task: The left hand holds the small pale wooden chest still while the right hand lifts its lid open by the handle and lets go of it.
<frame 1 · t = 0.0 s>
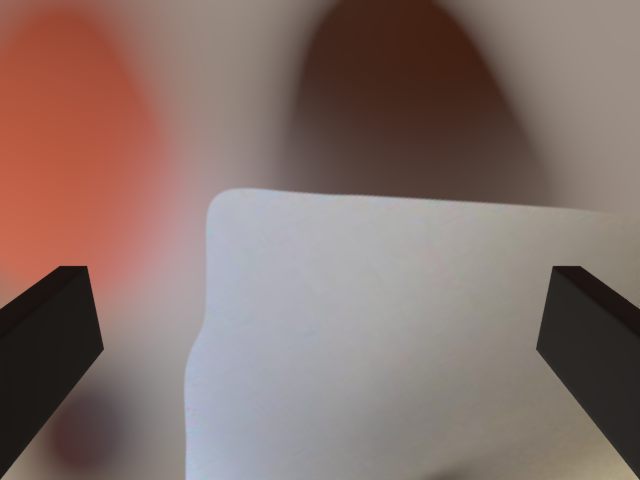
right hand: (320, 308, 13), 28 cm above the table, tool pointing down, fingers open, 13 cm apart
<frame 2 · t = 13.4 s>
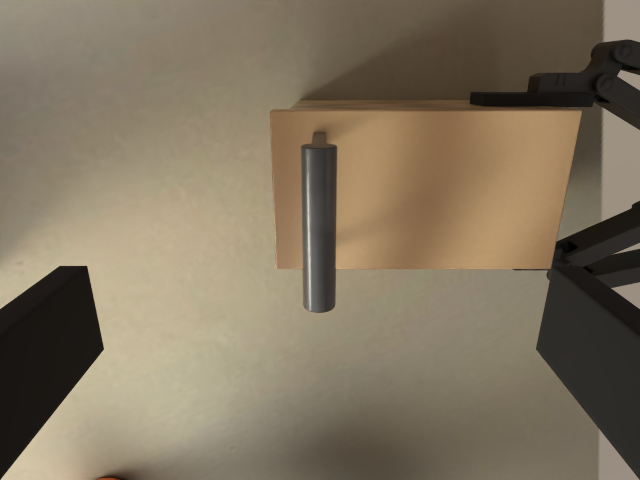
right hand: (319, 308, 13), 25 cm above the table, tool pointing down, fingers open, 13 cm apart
lid: (431, 209, 22), point 15 cm above the table, hinge at 0.0°
chest: (394, 158, 36), on the table, touching left hand
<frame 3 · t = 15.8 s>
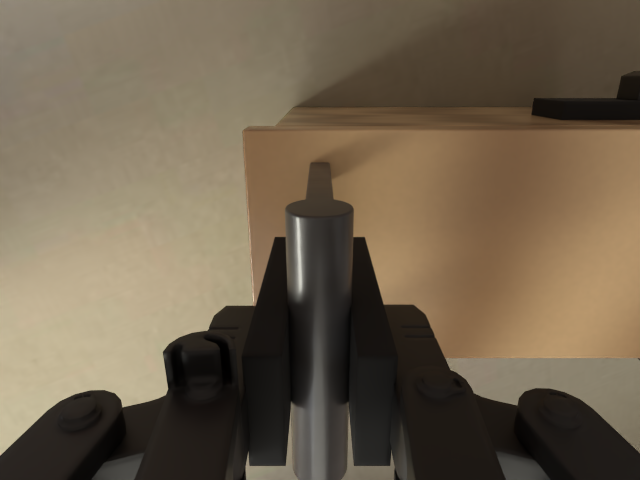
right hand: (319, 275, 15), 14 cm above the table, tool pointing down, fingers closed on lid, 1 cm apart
lid: (500, 289, 14), point 15 cm above the table, hinge at 0.1°, touching right hand
chest: (418, 183, 27), on the table, touching left hand
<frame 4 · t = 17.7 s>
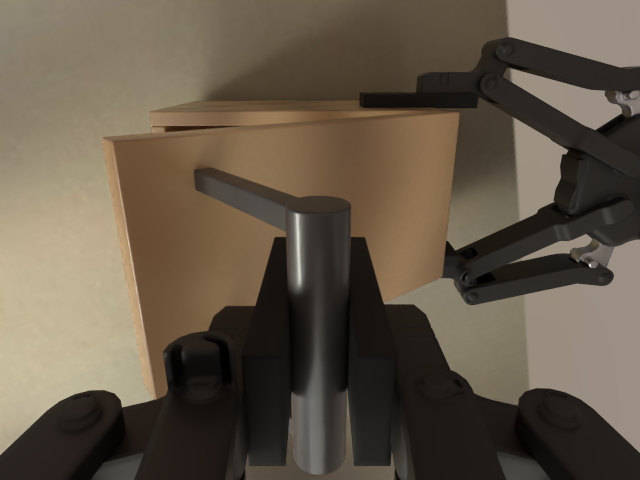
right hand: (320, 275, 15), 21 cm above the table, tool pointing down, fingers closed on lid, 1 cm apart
left hand: (358, 181, 28), fingers closed on chest, 9 cm apart
lid: (381, 251, 17), point 19 cm above the table, hinge at 37.0°, touching right hand
chest: (302, 161, 34), on the table, touching left hand
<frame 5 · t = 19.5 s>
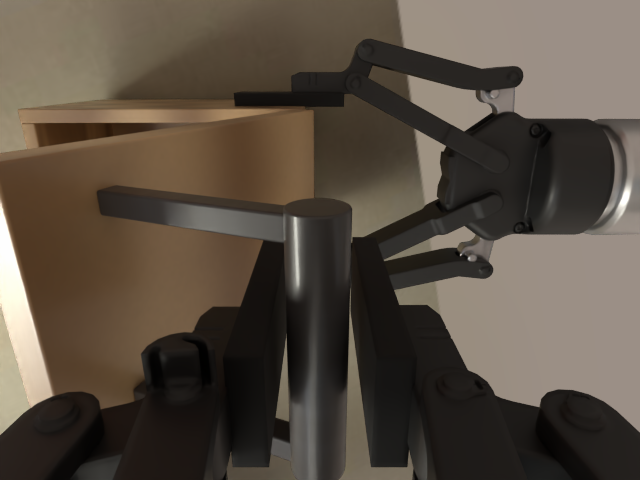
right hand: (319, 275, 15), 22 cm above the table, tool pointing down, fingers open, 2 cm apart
left hand: (243, 177, 29), fingers closed on chest, 9 cm apart
lid: (296, 251, 17), point 20 cm above the table, hinge at 65.9°
chest: (209, 158, 35), on the table, touching left hand
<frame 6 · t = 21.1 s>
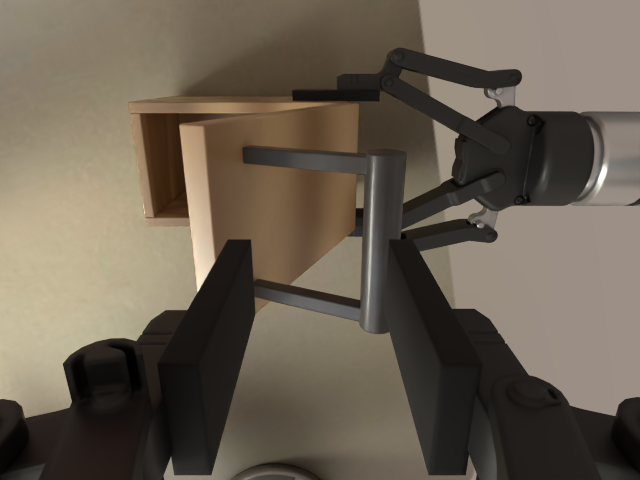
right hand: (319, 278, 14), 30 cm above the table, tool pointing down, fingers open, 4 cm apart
left hand: (295, 159, 36), fingers closed on chest, 9 cm apart
lid: (353, 201, 23), point 20 cm above the table, hinge at 64.2°
chest: (259, 146, 42), on the table, touching left hand
when the left hand's fingers open (7 cm above the table, at t = 23.4 s): chest stays where it is, on the table.
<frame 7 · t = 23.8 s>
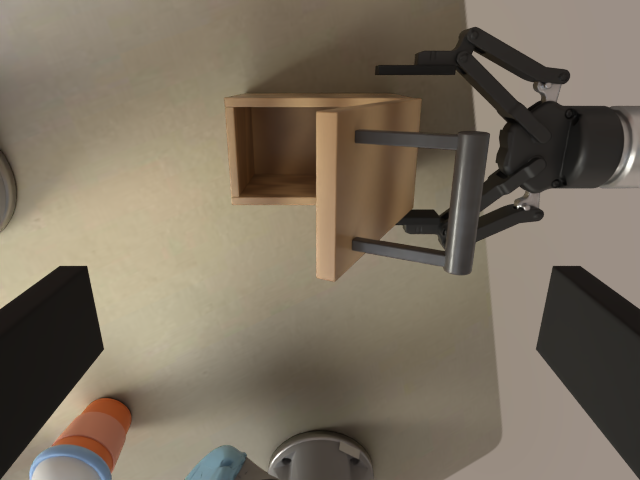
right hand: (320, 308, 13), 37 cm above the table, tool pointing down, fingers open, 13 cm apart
left hand: (373, 147, 41), fingers open, 13 cm apart
cup with straw: (110, 414, 61), on the table
lid: (427, 177, 29), point 20 cm above the table, hinge at 63.6°
chest: (318, 137, 47), on the table
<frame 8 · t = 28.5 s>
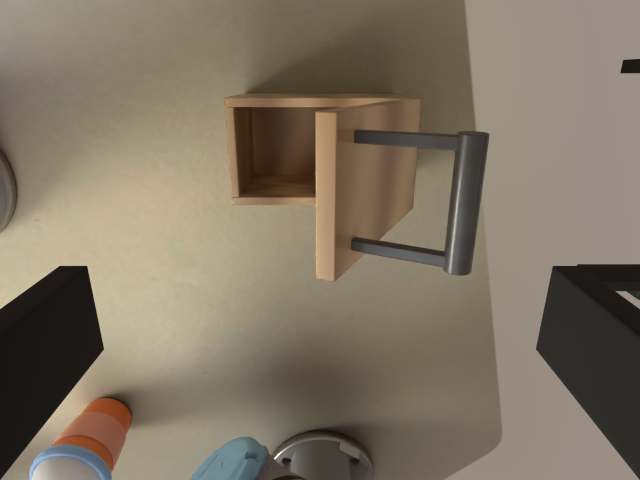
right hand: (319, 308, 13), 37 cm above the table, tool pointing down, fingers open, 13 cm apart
cup with straw: (110, 414, 61), on the table
lid: (427, 178, 29), point 20 cm above the table, hinge at 63.6°
chest: (318, 137, 47), on the table
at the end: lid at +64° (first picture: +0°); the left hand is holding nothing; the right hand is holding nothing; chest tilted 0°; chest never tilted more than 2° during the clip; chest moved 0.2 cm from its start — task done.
